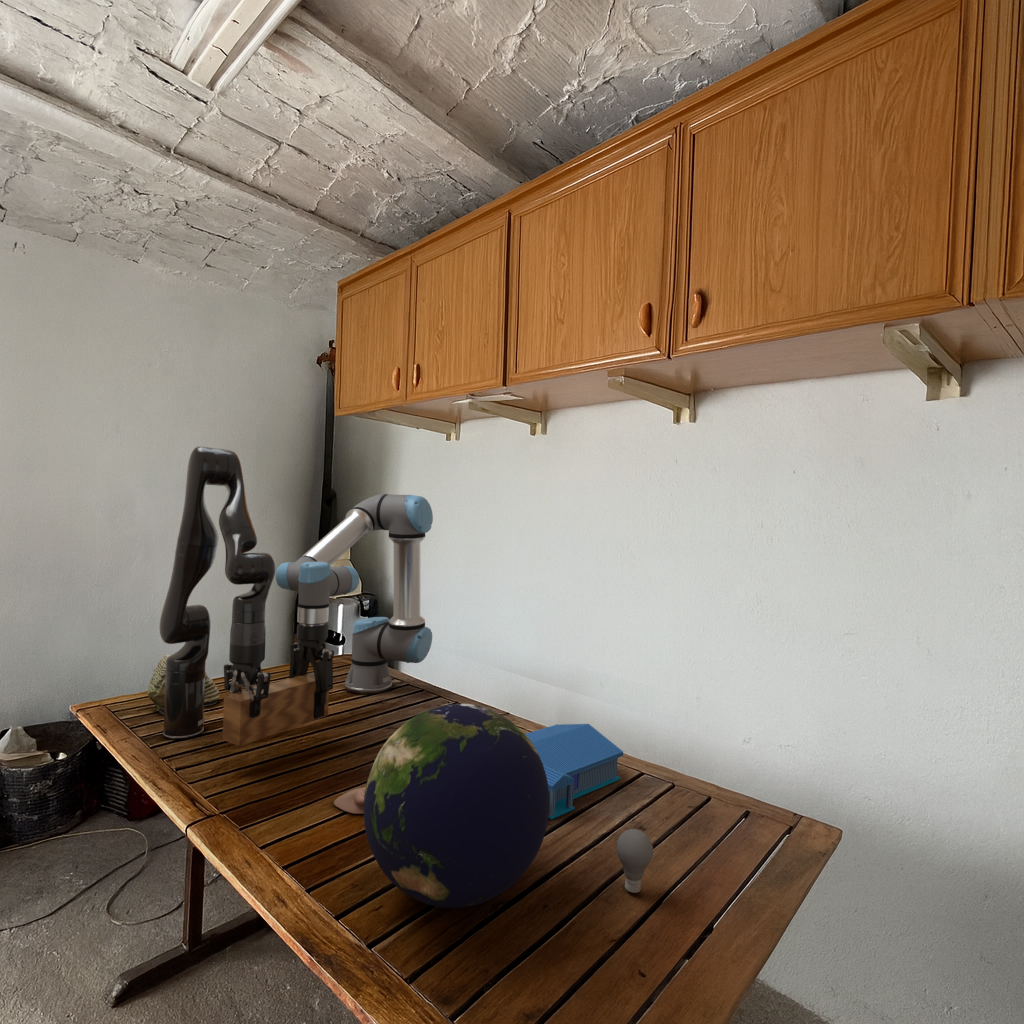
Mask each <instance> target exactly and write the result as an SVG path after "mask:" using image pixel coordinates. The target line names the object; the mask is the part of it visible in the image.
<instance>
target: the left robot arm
mask: <svg viewBox="0 0 1024 1024" xmlns="http://www.w3.org/2000/svg"><path fill="white" fill-rule="evenodd" d="M186 471H187V472H186V479H185V480H186V481H185V482H186V483H185V491H184V492H185V494H184V501H183V502H184V503H183V509H182V515H181V521H180V524H179V525H180V526H179V530H178V535H177V540H176V546H175V551H174V560H173V565H172V571H171V576H170V581H169V585H168V589H167V593H166V596H165V599H164V603H163V607H162V611H161V614H160V618H159V636H160V638H161V640H162V641H163V642H164V644H167V645H177V644H183V643H184V644H183V645H182V647H180V649H178V650H177V651H175V652H174V653H172V654H169V655H170V656H169V657H168V658H167V660H166V674H165V705H164V710H161V708H159V709H158V710H157V711H158V713H159V714H160V715H161V716H162V717H163V731H162V737H164V738H166V739H169V740H185V739H190V738H191V739H192V738H194V737H197V736H199V735H202V734H203V732H204V730H205V729H204V724H205V722H206V721H205V720H206V719H205V706H204V693H205V672H206V664H207V663H206V662H207V658H208V655H209V651H210V650H209V649H210V637H211V625H212V623H211V622H212V621H211V616H210V613H209V610H208V608H207V607H206V606H205V605H203V604H190V605H188V602H189V599H190V597H191V595H192V593H193V591H194V590H195V588H196V587H197V585H198V584H199V583H200V582H201V580H202V579H203V578H204V577H205V576H206V574H207V573H208V572H209V570H210V569H211V568H212V566H213V564H214V563H215V560H216V556H217V551H218V546H219V545H218V544H219V533H218V529H217V527H216V525H215V522H214V521H213V519H212V517H211V515H210V513H209V511H208V508H207V505H206V502H205V501H206V500H205V488H206V486H217V487H225V489H226V490H227V498H226V500H225V502H224V504H223V506H222V507H221V510H220V513H219V517H218V526H219V529H220V533H221V536H222V540H223V542H224V547H225V563H224V564H225V565H224V574H225V577H226V578H227V580H228V581H229V582H230V583H231V584H233V585H236V586H241V585H252V586H251V589H250V590H249V591H247V592H244V593H241V594H238V595H236V596H235V597H234V598H233V600H232V608H231V609H232V610H231V626H230V630H229V653H228V654H229V655H228V657H229V658H228V659H229V660H228V661H229V663H227V664H224V665H223V681H224V683H223V685H224V691H226V692H227V691H228V693H229V694H233V693H237V692H241V691H243V689H244V688H245V690H246V692H248V693H249V696H250V700H251V701H250V717H252V718H254V717H257V716H259V715H260V711H261V710H260V709H261V700H262V699H265V698H267V697H268V693H269V685H270V684H271V678H272V677H271V676H272V674H271V672H270V671H268V672H264V671H263V670H262V665H261V664H262V662H264V660H265V659H266V641H267V640H266V639H267V636H266V635H267V627H266V611H267V610H266V606H267V600H268V597H269V594H270V590H271V587H272V584H273V581H274V578H275V576H276V562H275V559H274V558H273V556H272V555H271V554H270V553H267V552H251V551H252V550H253V549H255V547H256V546H257V544H258V536H257V533H256V530H255V527H254V524H253V522H252V519H251V516H250V512H249V509H248V503H247V502H248V501H247V496H246V488H245V481H244V476H243V469H242V465H241V461H240V458H239V455H237V453H236V452H235V451H232V450H229V449H223V448H216V447H209V446H197V447H196V446H195V447H194V448H193V450H192V451H191V453H190V455H189V458H188V464H187V470H186ZM249 552H250V553H249ZM230 680H231V681H230ZM263 689H264V691H263V693H262V690H263ZM254 690H256V695H254Z"/></svg>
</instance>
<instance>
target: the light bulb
mask: <svg viewBox="0 0 1024 1024" xmlns="http://www.w3.org/2000/svg"><path fill="white" fill-rule="evenodd" d="M615 849H616V854H617V857H618V859H619V861H620V863H621V865H622V867H623V873H624V874H623V875H624V876H625V878H624V888H625V890H627V891H628V892H630V893H634V894H635V893H639V892H640V891H641V889H642V887H641V886H642V879H643V877H644V875H645V871H646V868H647V867H648V866H649V864H650V863H651V861H652V859H653V855H654V847H653V843H652V841H651V838H649V836H648V835H647V834H646V833H645V832H643V831H642V830H641V829H636V828H629V829H627V830H625V831H623V832H622V833H621V834H620V835H619V837H618V839H617V841H616V847H615Z"/></svg>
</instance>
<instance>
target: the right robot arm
mask: <svg viewBox="0 0 1024 1024" xmlns="http://www.w3.org/2000/svg"><path fill="white" fill-rule="evenodd" d="M433 515H434V514H433V510H432V506H431V503H430V502H429V501H428V500H427V498H425V497H424V496H421V495H414V494H388V493H381V494H375V495H372V496H370V497H368V498H366V499H364V500H362V501H360V502H359V503H357V504H355V506H353V507H352V508H351V509H350V510H348V511H347V512H346V514H345V517H344V518H343V520H342V521H341V522H339V523H338V524H337V525H336V526H335V527H334V528H332V529H331V530H330V531H329V532H328V533H327V534H326V535H325V536H323V537H322V538H321V539H320V540H318V542H317V543H315V544H314V545H313V546H312V547H311V548H310V549H308V551H306V552H305V553H304V554H303V555H302V556H300V558H299V559H297V560H296V561H294V562H292V561H288V562H287V561H286V562H282V563H281V564H279V566H278V567H277V569H276V570H275V581H276V584H277V587H279V588H280V589H283V590H288V591H292V592H298V603H297V616H296V617H297V620H296V622H297V623H298V624H297V626H296V639H297V640H299V641H298V642H295V643H290V645H289V648H290V664H289V674H288V675H289V676H288V679H290V678H294V677H298V676H301V675H305V674H308V670H309V667H310V666H312V670H313V672H314V676H315V682H316V687H317V691H315V693H314V718H315V719H317V718H319V717H322V716H324V704H325V703H326V692H327V691H328V690H329V691H332V690H333V689H334V657H335V651H334V650H333V649H332V650H329V649H328V648H327V645H326V640H327V639H328V638H329V624H328V622H329V615H330V614H329V612H330V598H332V597H337V596H343V595H344V596H345V595H348V594H350V593H353V592H354V591H356V589H357V588H358V586H359V584H360V575H359V573H358V571H357V570H356V568H354V567H353V566H351V565H350V566H349V565H340V566H332V565H334V563H336V562H337V561H338V560H339V559H340V558H341V557H342V556H343V555H344V554H345V553H346V552H347V551H349V549H351V548H352V547H353V546H354V545H355V544H356V543H357V542H359V540H360V539H361V538H362V537H367V536H369V535H370V534H371V533H373V532H374V531H375V532H376V531H388V538H389V540H391V542H392V543H393V615H392V617H390V618H389V617H387V616H373V617H365V618H360V619H358V620H356V621H354V623H353V625H352V633H351V635H352V639H351V640H352V641H351V665H350V668H349V671H348V673H347V676H346V679H345V682H344V689H345V690H346V691H347V692H348V693H352V694H358V695H375V694H383V693H386V692H388V691H389V690H391V689H392V687H393V680H392V676H391V673H390V669H389V666H388V660H389V661H396V662H402V663H406V664H410V663H411V664H419V663H421V662H422V661H425V659H426V658H427V656H428V654H429V653H430V650H431V647H432V643H433V632H432V629H431V628H429V627H427V626H426V619H425V618H424V617H423V616H422V614H421V605H422V604H421V601H422V599H421V592H422V591H421V580H422V579H421V575H422V574H421V571H422V570H421V567H422V565H421V564H422V563H421V562H422V561H421V560H422V559H421V557H422V556H421V554H422V551H421V549H422V547H421V543H422V541H424V540H425V538H426V533H428V532H430V531H431V529H432V525H433V522H434V516H433ZM321 686H322V687H321ZM317 720H318V719H317Z"/></svg>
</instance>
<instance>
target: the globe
mask: <svg viewBox="0 0 1024 1024" xmlns="http://www.w3.org/2000/svg"><path fill="white" fill-rule="evenodd" d="M525 734H526V733H525V732H524V731H523V730H522V729H521V728H520V727H519V726H517V724H515V723H514V722H513V721H512V720H510V719H509V718H507V717H505V716H504V715H503V714H501V713H498V712H497V711H494V710H493V709H490V708H486V707H484V706H479V705H476V704H472V703H450V704H444V705H440V706H439V705H438V706H436V707H432V708H429V709H427V710H425V711H423V712H420V713H419V714H416V715H415V716H413V717H412V718H410V719H408V720H407V721H406V722H404V723H403V724H401V726H400V727H398V729H396V730H395V731H394V732H393V734H392V735H391V736H390V737H388V739H387V740H386V741H385V742H384V744H383V745H382V747H381V748H380V750H379V752H378V753H377V755H376V758H375V759H374V762H373V764H372V766H371V768H370V771H369V774H368V778H367V781H366V783H365V787H366V789H365V795H364V806H363V808H364V814H363V824H364V830H365V835H366V839H367V842H368V845H369V848H370V851H371V854H372V856H373V858H374V859H375V861H376V863H377V864H378V867H379V868H380V869H381V871H382V872H383V874H384V875H385V876H386V877H387V878H388V879H389V881H390V882H391V883H392V884H393V885H394V886H395V887H396V888H398V890H400V891H402V893H404V894H406V895H407V896H409V897H411V898H413V899H414V900H415V901H418V902H421V903H423V904H425V905H429V906H433V907H437V908H442V909H443V908H444V909H462V908H470V907H474V906H477V905H480V904H484V903H487V902H489V901H491V900H493V899H495V898H496V897H498V896H500V895H501V894H503V893H505V892H506V891H508V890H509V889H510V888H511V887H512V886H513V885H515V884H516V883H517V882H518V881H519V880H520V879H521V878H522V876H524V874H525V873H526V872H527V870H528V869H529V868H530V866H531V865H532V864H533V862H534V860H535V858H536V857H537V855H538V853H539V851H540V848H541V846H542V844H543V841H544V839H545V835H546V832H547V827H548V823H549V818H548V817H549V788H548V782H547V777H546V773H545V770H544V766H543V764H542V761H541V759H540V756H539V754H538V752H537V750H536V749H535V747H534V745H533V744H532V742H531V741H530V739H529V738H528V737H527V736H526V735H525Z"/></svg>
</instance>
